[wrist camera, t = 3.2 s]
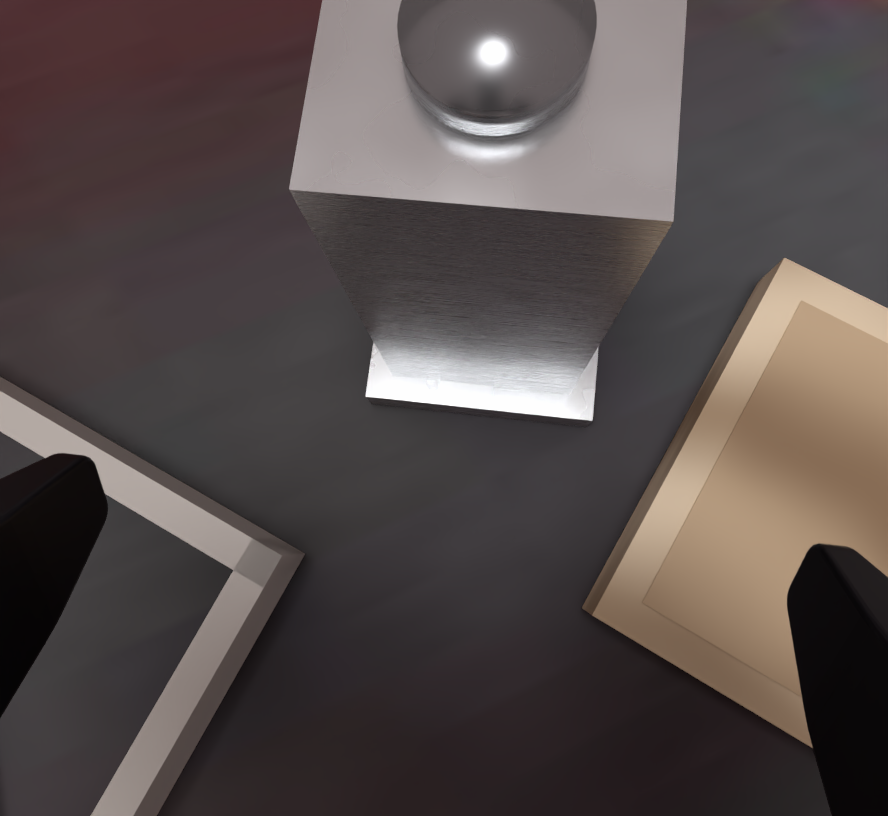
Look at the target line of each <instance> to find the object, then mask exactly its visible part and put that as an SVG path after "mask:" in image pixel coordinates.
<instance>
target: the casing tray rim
mask: <svg viewBox="0 0 888 816" xmlns="http://www.w3.org/2000/svg"><path fill="white" fill-rule="evenodd" d="M0 431H1V432H2V433H4V434H6V435H7V436H9V437H11V438H12V439H14V440H16V441H17V442H19V443H21V444H22V445H24V446H26V447H27V448H29V449H31V450H32V451H34V452H36V453H38V454H39V455H41V456H43V457H44V458H47V457H49V456H51V455H53V454H57V453H68V454H76V455H84V456H87V457H90V458H91V459H92V460H93V461H94V463H95V465H96V468H97V471H98V474H99V477H100V481H101V484H102V487H103V490H104V493H105V494H106V495H108V496H110V497H111V498H113V499H115V500H116V501H118V502H120V503H121V504H123V505H125V506H126V507H128V508H130V509H132V510H133V511H135V512H137V513H138V514H140V515H142V516H143V517H145V518H147V519H148V520H150V521H152V522H153V523H155V524H157V525H158V526H160V527H162V528H163V529H165V530H167V531H168V532H170V533H172V534H173V535H175V536H177V537H178V538H180V539H182V540H184V541H185V542H187V543H189V544H190V545H192V546H194V547H195V548H197V549H199V550H200V551H202V552H204V553H205V554H207V555H209V556H210V557H212V558H214V559H215V560H217V561H219V562H220V563H222V564H224V565H225V566H227V567H229V568H231V569H232V570H233V572H232V574H231V575H230V577H229V579H228V581H227V582H226V584H225V586H224V587H223V589H222V591H221V593H220V594H219V596H218V598H217V599H216V601H215V603H214V605H213V606H212V608H211V610H210V612H209V613H208V615H207V617H206V618H205V620H204V622H203V624H202V625H201V627H200V629H199V630H198V632H197V634H196V636H195V637H194V639H193V641H192V642H191V644H190V646H189V648H188V649H187V651H186V653H185V655H184V656H183V658H182V660H181V661H180V663H179V665H178V667H177V668H176V670H175V672H174V673H173V675H172V677H171V679H170V680H169V682H168V684H167V686H166V687H165V689H164V691H163V692H162V694H161V696H160V698H159V699H158V701H157V703H156V704H155V706H154V708H153V710H152V711H151V713H150V715H149V716H148V718H147V720H146V722H145V723H144V725H143V727H142V729H141V730H140V732H139V734H138V735H137V737H136V739H135V741H134V742H133V744H132V746H131V747H130V749H129V751H128V753H127V754H126V756H125V758H124V759H123V761H122V763H121V765H120V766H119V768H118V770H117V772H116V773H115V775H114V777H113V778H112V780H111V782H110V784H109V785H108V787H107V789H106V790H105V792H104V794H103V796H102V797H101V799H100V801H99V803H98V804H97V806H96V808H95V809H94V811H93V813H92V815H91V816H157V815H158V813H159V811H160V809H161V807H162V806H163V804H164V802H165V800H166V799H167V797H168V795H169V793H170V792H171V790H172V788H173V786H174V785H175V783H176V781H177V779H178V777H179V776H180V774H181V772H182V770H183V769H184V767H185V765H186V763H187V762H188V760H189V758H190V756H191V755H192V753H193V751H194V749H195V747H196V746H197V744H198V742H199V740H200V739H201V737H202V735H203V733H204V732H205V730H206V728H207V726H208V725H209V723H210V721H211V719H212V717H213V716H214V714H215V712H216V710H217V709H218V707H219V705H220V703H221V702H222V700H223V698H224V696H225V695H226V693H227V691H228V689H229V687H230V686H231V684H232V682H233V680H234V679H235V677H236V675H237V673H238V672H239V670H240V668H241V666H242V665H243V663H244V661H245V659H246V657H247V656H248V654H249V652H250V650H251V649H252V647H253V645H254V643H255V642H256V640H257V638H258V636H259V635H260V633H261V631H262V629H263V627H264V626H265V624H266V622H267V620H268V619H269V617H270V615H271V613H272V612H273V610H274V608H275V606H276V605H277V603H278V601H279V599H280V597H281V596H282V594H283V592H284V590H285V589H286V587H287V585H288V583H289V582H290V580H291V578H292V576H293V575H294V573H295V571H296V569H297V567H298V566H299V564H300V562H301V560H302V559H303V557H304V555H305V553H303V552H301V551H300V550H298V549H296V548H294V547H293V546H291V545H289V544H288V543H286V542H284V541H282V540H281V539H279V538H277V537H275V536H274V535H272V534H270V533H269V532H267V531H265V530H263V529H262V528H260V527H258V526H257V525H255V524H253V523H251V522H250V521H248V520H246V519H245V518H243V517H241V516H239V515H238V514H236V513H234V512H232V511H231V510H229V509H227V508H226V507H224V506H222V505H220V504H219V503H217V502H215V501H214V500H212V499H210V498H208V497H207V496H205V495H203V494H202V493H200V492H198V491H196V490H195V489H193V488H191V487H189V486H188V485H186V484H184V483H183V482H181V481H179V480H177V479H176V478H174V477H172V476H171V475H169V474H167V473H165V472H164V471H162V470H160V469H158V468H157V467H155V466H153V465H152V464H150V463H148V462H146V461H145V460H143V459H141V458H140V457H138V456H136V455H134V454H133V453H131V452H129V451H128V450H126V449H124V448H122V447H121V446H119V445H117V444H115V443H114V442H112V441H110V440H109V439H107V438H105V437H103V436H102V435H100V434H98V433H97V432H95V431H93V430H91V429H90V428H88V427H86V426H84V425H83V424H81V423H79V422H78V421H76V420H74V419H72V418H71V417H69V416H67V415H66V414H64V413H62V412H60V411H59V410H57V409H55V408H54V407H52V406H50V405H48V404H47V403H45V402H43V401H41V400H40V399H38V398H36V397H35V396H33V395H31V394H29V393H28V392H26V391H24V390H23V389H21V388H19V387H17V386H16V385H14V384H12V383H10V382H9V381H7V380H5V379H4V378H2V377H0Z"/></svg>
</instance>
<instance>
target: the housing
mask: <svg viewBox="0 0 888 816" xmlns="http://www.w3.org/2000/svg"><path fill="white" fill-rule="evenodd" d="M686 8H687V0H322V6H321V12H320V17H319V23H318V29H317V34H316V40H315V45H314V51H313V57H312V62H311V68H310V74H309V79H308V85H307V91H306V96H305V102H304V108H303V113H302V119H301V125H300V130H299V136H298V142H297V147H296V153H295V159H294V164H293V170H292V176H291V181H290V187H289V190H290V192H291V194H292V196H293V198H294V199H295V201H296V203H297V205H298V207H299V208H300V210H301V212H302V214H303V216H304V217H305V219H306V221H307V223H308V225H309V226H310V228H311V230H312V232H313V234H314V235H315V237H316V239H317V241H318V243H319V244H320V246H321V248H322V250H323V252H324V253H325V255H326V257H327V259H328V261H329V262H330V264H331V266H332V268H333V270H334V271H335V273H336V275H337V277H338V279H339V280H340V282H341V284H342V286H343V288H344V289H345V291H346V293H347V295H348V297H349V298H350V300H351V302H352V304H353V305H354V307H355V309H356V311H357V313H358V314H359V316H360V318H361V320H362V322H363V323H364V325H365V327H366V329H367V331H368V332H369V334H370V336H371V338H372V340H373V341H374V342H373V349H372V356H371V363H370V369H369V376H368V383H367V390H366V398H367V399H368V400H369V401H370V403H371V404H375V405H385V406H394V407H403V408H412V409H422V410H431V411H440V412H449V413H459V414H468V415H477V416H486V417H496V418H505V419H514V420H523V421H533V422H542V423H551V424H560V425H570V426H579V427H587V426H588V425H589V424H590V423H591V422H592V421H593V409H594V397H595V385H596V372H597V360H598V347H599V345H600V343H601V341H602V340H603V338H604V336H605V335H606V333H607V331H608V330H609V328H610V326H611V325H612V323H613V321H614V320H615V318H616V316H617V315H618V313H619V311H620V310H621V308H622V306H623V305H624V303H625V301H626V300H627V298H628V296H629V295H630V293H631V291H632V290H633V288H634V286H635V285H636V283H637V281H638V280H639V278H640V276H641V275H642V273H643V271H644V270H645V268H646V266H647V265H648V263H649V261H650V260H651V258H652V256H653V255H654V253H655V251H656V250H657V248H658V246H659V245H660V243H661V241H662V240H663V238H664V236H665V235H666V233H667V231H668V230H669V228H670V226H671V225H672V223H673V219H674V203H675V187H676V170H677V154H678V138H679V122H680V106H681V89H682V73H683V57H684V41H685V25H686Z"/></svg>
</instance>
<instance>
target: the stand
mask: <svg viewBox="0 0 888 816" xmlns="http://www.w3.org/2000/svg"><path fill="white" fill-rule="evenodd" d="M818 543H823V544H832V545H840V546H847V547H850V548H853V549H854V550H856V551H857V552H858V553H860V554H861V555H862V556H863V557H864V558H866V559H867V560H868V561H869V562H870V563H872V564H873V565H874V566H875V567H876V568H878V569H879V570H880V571H881V572H882V573H884V574H885V575H886V576H887V577H888V308H886V307H884V306H882V305H880V304H878V303H876V302H874V301H872V300H869V299H867V298H865V297H863V296H861V295H859V294H857V293H855V292H853V291H851V290H849V289H847V288H845V287H843V286H841V285H839V284H837V283H835V282H833V281H831V280H829V279H827V278H825V277H823V276H821V275H819V274H817V273H815V272H813V271H811V270H808V269H806V268H804V267H802V266H800V265H798V264H796V263H794V262H792V261H790V260H788V259H786V258H783V259H782V260H781V261H780V262H779V263H778V264H777V265H776V266H775V267H774V268H773V269H772V270H771V271H770V272H768V273H767V274H766V275H765V276H764V277H763V278H762V279H761V280H760V281H759V282H758V283H757V285H756V286H755V288H754V290H753V292H752V294H751V296H750V298H749V299H748V301H747V303H746V305H745V307H744V309H743V311H742V312H741V314H740V316H739V318H738V320H737V322H736V323H735V325H734V327H733V329H732V331H731V333H730V335H729V336H728V338H727V340H726V342H725V344H724V346H723V347H722V349H721V351H720V353H719V355H718V357H717V359H716V360H715V362H714V364H713V366H712V368H711V370H710V372H709V373H708V375H707V377H706V379H705V381H704V383H703V384H702V386H701V388H700V390H699V392H698V394H697V396H696V397H695V399H694V401H693V403H692V405H691V407H690V408H689V410H688V412H687V414H686V416H685V418H684V420H683V421H682V423H681V425H680V427H679V429H678V431H677V433H676V434H675V436H674V438H673V440H672V442H671V444H670V445H669V447H668V449H667V451H666V453H665V455H664V457H663V458H662V460H661V462H660V464H659V466H658V468H657V469H656V471H655V473H654V475H653V477H652V479H651V481H650V482H649V484H648V486H647V488H646V490H645V492H644V494H643V495H642V497H641V499H640V501H639V503H638V505H637V506H636V508H635V510H634V512H633V514H632V516H631V518H630V519H629V521H628V523H627V525H626V527H625V529H624V531H623V532H622V534H621V536H620V538H619V540H618V542H617V543H616V545H615V547H614V549H613V551H612V553H611V555H610V556H609V558H608V560H607V562H606V564H605V566H604V567H603V569H602V571H601V573H600V575H599V577H598V579H597V580H596V582H595V584H594V586H593V588H592V590H591V592H590V593H589V595H588V597H587V599H586V601H585V603H584V604H583V606H582V609H584V610H585V611H587V612H588V613H589V614H591V615H592V616H594V617H596V618H597V619H599V620H601V621H602V622H604V623H606V624H607V625H609V626H611V627H612V628H614V629H616V630H617V631H619V632H621V633H622V634H624V635H626V636H627V637H629V638H631V639H632V640H634V641H636V642H637V643H639V644H640V645H642V646H644V647H645V648H647V649H649V650H650V651H652V652H654V653H655V654H657V655H659V656H660V657H662V658H664V659H665V660H667V661H669V662H670V663H672V664H674V665H675V666H677V667H679V668H680V669H682V670H684V671H685V672H687V673H689V674H690V675H692V676H694V677H695V678H697V679H699V680H700V681H702V682H704V683H705V684H707V685H709V686H710V687H712V688H714V689H715V690H717V691H719V692H720V693H722V694H724V695H725V696H727V697H728V698H730V699H732V700H733V701H735V702H737V703H738V704H740V705H742V706H743V707H745V708H747V709H748V710H750V711H752V712H753V713H755V714H757V715H758V716H760V717H762V718H763V719H765V720H767V721H768V722H770V723H772V724H773V725H775V726H777V727H778V728H780V729H782V730H783V731H785V732H787V733H788V734H790V735H792V736H793V737H795V738H797V739H798V740H800V741H802V742H803V743H805V744H807V745H808V746H810V747H812V743H811V739H810V735H809V732H808V727H807V722H806V717H805V712H804V707H803V701H802V695H801V689H800V683H799V677H798V671H797V665H796V659H795V653H794V647H793V641H792V635H791V629H790V623H789V617H788V611H787V594H788V590H789V587H790V585H791V583H792V581H793V579H794V577H795V575H796V573H797V571H798V569H799V567H800V565H801V563H802V561H803V559H804V557H805V555H806V553H807V551H808V550H809V548H810V547H811V546H813V545H814V544H818ZM812 748H813V747H812Z"/></svg>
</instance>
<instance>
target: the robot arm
mask: <svg viewBox="0 0 888 816" xmlns="http://www.w3.org/2000/svg"><path fill="white" fill-rule="evenodd" d="M107 512H108V503H107V499H106V496H105V493H104V490H103V487H102V484H101V481H100V477H99V474H98V471H97V468H96V465H95V463H94V461H93V460H92V459H91V458H90V457H87V456H84V455H76V454H68V453H57V454H53V455H51V456H49V457H47V458H44V459H42V460H40V461H38V462H36V463H34V464H31V465H29V466H27V467H25V468H23V469H21V470H19V471H16V472H14V473H12V474H10V475H8V476H6V477H3V478H1V479H0V718H1V716H2V714H3V713H4V711H5V709H6V708H7V706H8V704H9V703H10V701H11V699H12V698H13V696H14V694H15V693H16V691H17V689H18V688H19V686H20V684H21V683H22V681H23V680H24V678H25V676H26V675H27V673H28V671H29V670H30V668H31V666H32V665H33V663H34V661H35V660H36V658H37V656H38V655H39V653H40V651H41V650H42V648H43V646H44V645H45V643H46V641H47V640H48V638H49V636H50V634H51V633H52V631H53V629H54V627H55V626H56V624H57V622H58V620H59V618H60V616H61V614H62V612H63V610H64V608H65V606H66V604H67V602H68V600H69V598H70V596H71V593H72V591H73V589H74V587H75V585H76V583H77V581H78V579H79V576H80V574H81V572H82V570H83V568H84V566H85V564H86V562H87V559H88V557H89V555H90V553H91V551H92V549H93V547H94V545H95V542H96V540H97V538H98V536H99V534H100V532H101V530H102V528H103V525H104V523H105V521H106V517H107ZM787 611H788V617H789V623H790V629H791V635H792V641H793V647H794V653H795V659H796V665H797V671H798V677H799V683H800V689H801V695H802V701H803V707H804V712H805V717H806V722H807V727H808V732H809V735H810V739H811V743H812V747H813V751H814V754H815V758H816V762H817V765H818V769H819V772H820V776H821V779H822V783H823V786H824V790H825V793H826V797H827V800H828V804H829V807H830V811H831V814H832V816H888V577H887V576H886V575H885V574H884V573H882V572H881V571H880V570H879V569H878V568H876V567H875V566H874V565H873V564H872V563H870V562H869V561H868V560H867V559H866V558H864V557H863V556H862V555H861V554H860V553H858V552H857V551H856V550H854V549H853V548H850V547H847V546H840V545H832V544H823V543H818V544H814V545H813V546H811V547H810V548H809V550H808V551H807V553H806V555H805V557H804V559H803V561H802V563H801V565H800V567H799V569H798V571H797V573H796V575H795V577H794V579H793V581H792V583H791V585H790V587H789V590H788V594H787Z"/></svg>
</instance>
